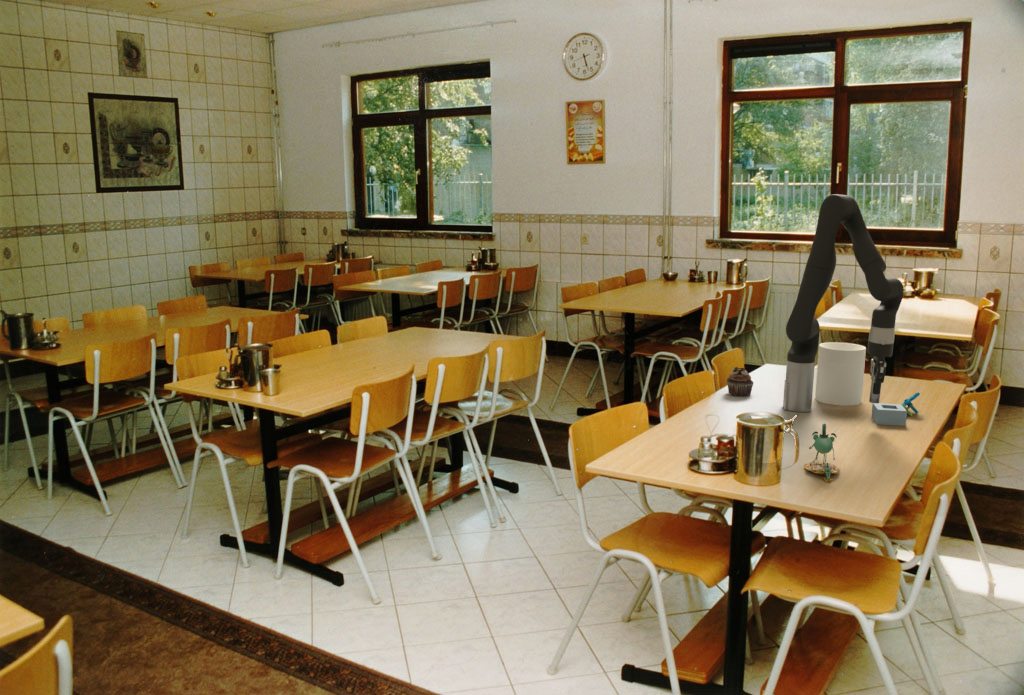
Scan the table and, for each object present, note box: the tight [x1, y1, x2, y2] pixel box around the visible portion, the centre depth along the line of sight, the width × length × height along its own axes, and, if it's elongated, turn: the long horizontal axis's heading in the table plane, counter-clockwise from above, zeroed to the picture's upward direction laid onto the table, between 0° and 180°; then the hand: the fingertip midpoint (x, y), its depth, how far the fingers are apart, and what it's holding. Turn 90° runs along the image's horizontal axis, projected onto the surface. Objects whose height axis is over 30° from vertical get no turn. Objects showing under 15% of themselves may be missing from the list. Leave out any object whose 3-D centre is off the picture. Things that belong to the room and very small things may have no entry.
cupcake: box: [726, 366, 754, 398], centre depth 331 cm, size 10×10×10 cm
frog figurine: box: [803, 423, 841, 484], centre depth 244 cm, size 10×18×15 cm, turn 157°
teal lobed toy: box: [900, 391, 921, 417], centre depth 306 cm, size 11×6×10 cm
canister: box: [814, 341, 867, 407], centre depth 322 cm, size 16×16×20 cm
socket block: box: [870, 402, 908, 427], centre depth 295 cm, size 9×9×5 cm
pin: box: [868, 372, 882, 404], centre depth 287 cm, size 3×3×10 cm
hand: (875, 392), depth 287 cm, fingers closed on pin, 3 cm apart
